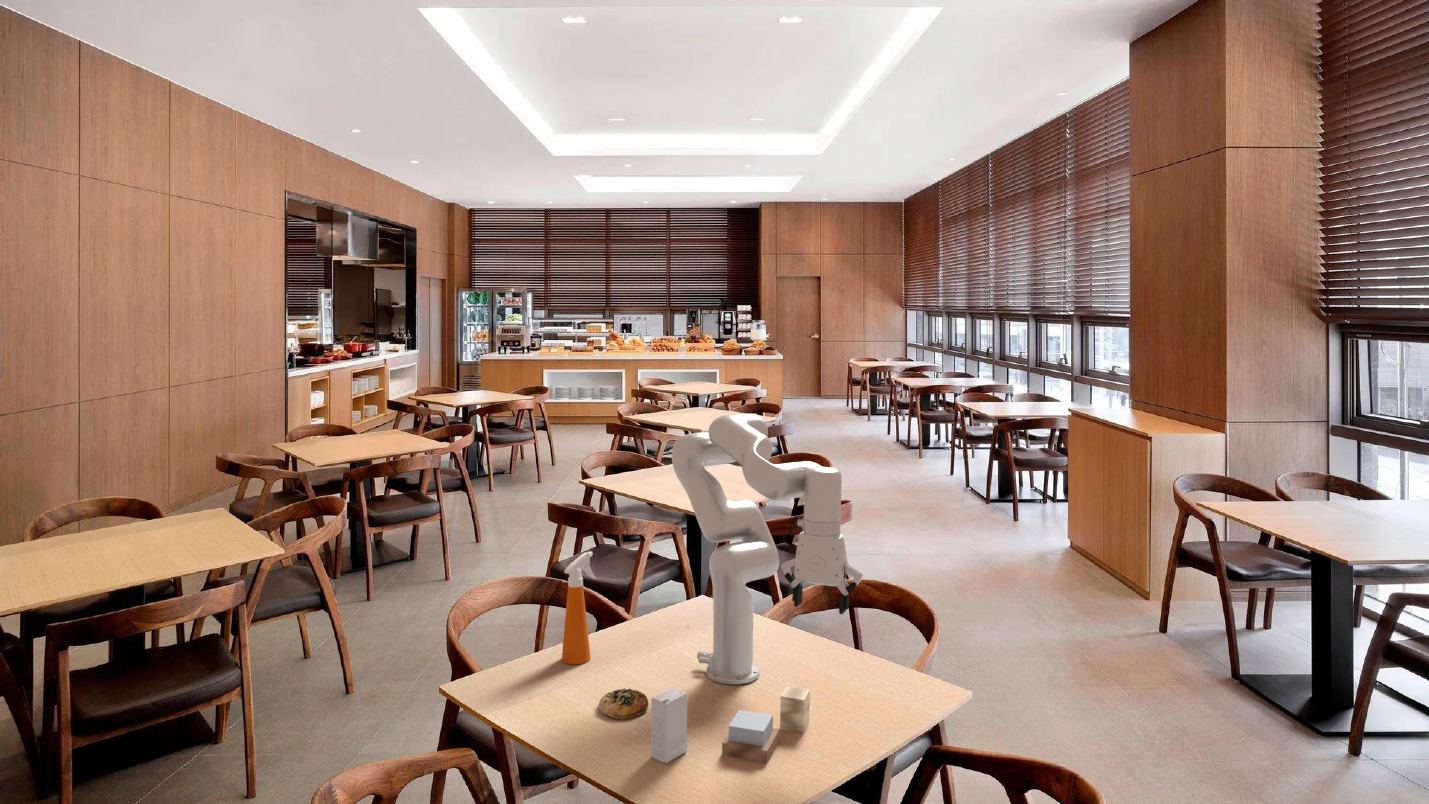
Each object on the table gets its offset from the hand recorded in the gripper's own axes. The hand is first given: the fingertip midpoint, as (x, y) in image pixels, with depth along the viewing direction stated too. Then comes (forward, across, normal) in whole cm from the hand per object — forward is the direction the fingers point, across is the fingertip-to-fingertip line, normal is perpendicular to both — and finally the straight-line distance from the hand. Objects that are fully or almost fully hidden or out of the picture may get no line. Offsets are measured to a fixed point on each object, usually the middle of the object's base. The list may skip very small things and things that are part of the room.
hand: (820, 608), depth 169 cm
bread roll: (+25, -40, -13) cm, 49 cm away
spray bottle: (+25, -64, +7) cm, 69 cm away
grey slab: (+22, -8, -16) cm, 28 cm away
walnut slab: (+25, -8, -16) cm, 31 cm away
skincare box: (+25, -22, -26) cm, 42 cm away
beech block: (+24, -4, -4) cm, 25 cm away
